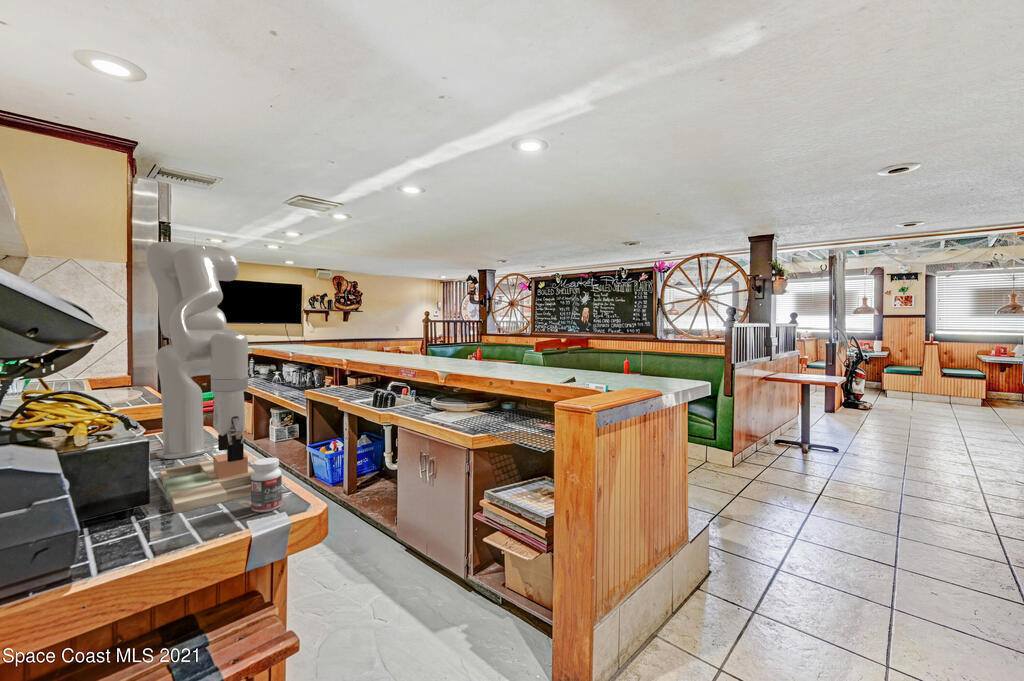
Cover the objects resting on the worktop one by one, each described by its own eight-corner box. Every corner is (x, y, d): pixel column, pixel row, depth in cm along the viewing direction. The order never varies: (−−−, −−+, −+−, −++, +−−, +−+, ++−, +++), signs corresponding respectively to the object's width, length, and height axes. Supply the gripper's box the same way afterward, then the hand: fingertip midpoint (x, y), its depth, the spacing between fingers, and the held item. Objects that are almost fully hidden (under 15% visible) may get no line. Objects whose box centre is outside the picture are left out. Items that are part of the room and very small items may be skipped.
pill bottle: (268, 514, 91) (267, 466, 91) (244, 511, 92) (243, 464, 92) (288, 503, 97) (287, 457, 96) (265, 500, 98) (264, 455, 97)
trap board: (159, 477, 111) (159, 469, 111) (238, 462, 122) (238, 455, 122) (175, 513, 91) (174, 504, 91) (267, 491, 103) (267, 483, 103)
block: (213, 471, 109) (213, 455, 109) (241, 466, 114) (241, 450, 113) (218, 478, 105) (218, 461, 105) (248, 472, 109) (247, 456, 109)
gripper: (204, 380, 111) (205, 448, 112) (219, 392, 98) (220, 469, 100) (238, 378, 116) (239, 442, 117) (257, 389, 103) (257, 461, 105)
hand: (230, 454), depth 108 cm, fingers open, 9 cm apart
